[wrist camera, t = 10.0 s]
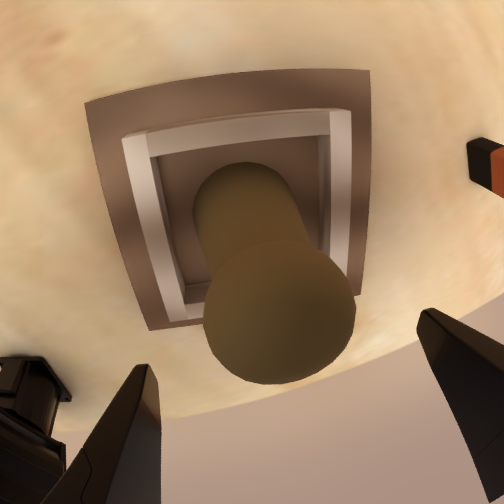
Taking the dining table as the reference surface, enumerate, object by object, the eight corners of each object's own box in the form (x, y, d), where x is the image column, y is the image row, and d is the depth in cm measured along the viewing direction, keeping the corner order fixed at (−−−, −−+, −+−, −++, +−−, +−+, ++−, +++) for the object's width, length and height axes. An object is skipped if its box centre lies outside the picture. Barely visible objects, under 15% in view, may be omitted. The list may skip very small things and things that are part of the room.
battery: (469, 180, 21) (511, 204, 17) (465, 142, 19) (511, 161, 15) (485, 172, 21) (526, 195, 17) (482, 135, 19) (527, 153, 15)
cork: (210, 147, 17) (228, 242, 7) (310, 180, 18) (416, 291, 9) (180, 243, 19) (173, 398, 10) (271, 265, 21) (326, 409, 12)
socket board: (355, 287, 24) (371, 310, 22) (150, 321, 23) (146, 350, 20) (362, 70, 16) (387, 70, 14) (90, 101, 15) (70, 106, 12)
